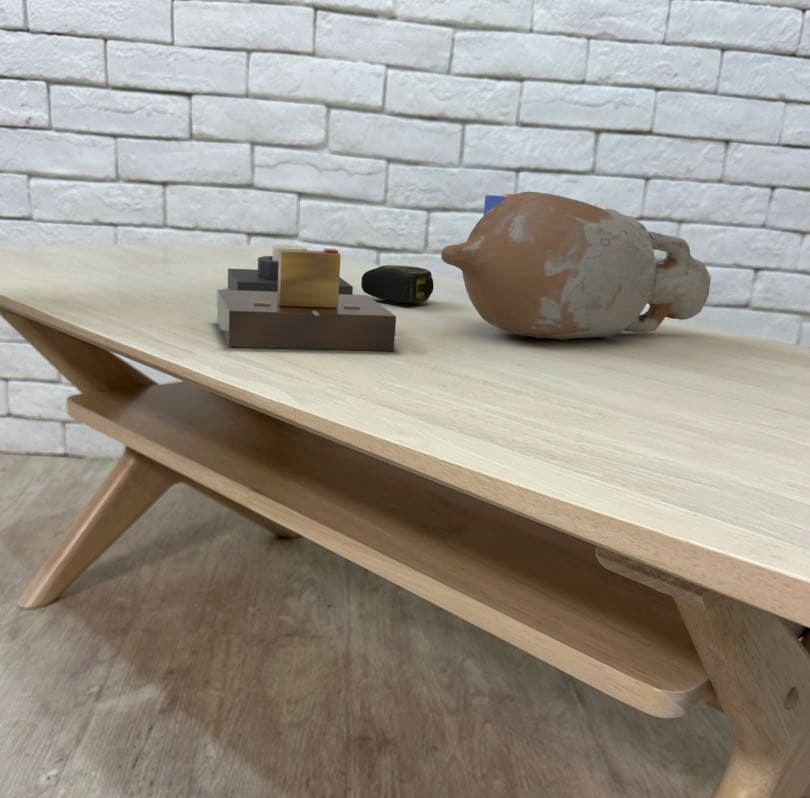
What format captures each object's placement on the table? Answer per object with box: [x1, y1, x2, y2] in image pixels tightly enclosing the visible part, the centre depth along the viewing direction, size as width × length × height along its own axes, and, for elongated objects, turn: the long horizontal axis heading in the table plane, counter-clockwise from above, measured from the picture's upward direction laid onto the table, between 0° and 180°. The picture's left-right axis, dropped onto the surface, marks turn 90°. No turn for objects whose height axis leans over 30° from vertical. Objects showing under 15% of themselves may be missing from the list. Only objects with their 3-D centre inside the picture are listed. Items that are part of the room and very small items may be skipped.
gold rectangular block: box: [277, 247, 342, 308], centre depth 84 cm, size 5×2×5 cm, turn 105°
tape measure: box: [360, 264, 434, 305], centre depth 110 cm, size 7×7×4 cm
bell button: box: [271, 244, 308, 261], centre depth 106 cm, size 4×4×2 cm
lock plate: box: [216, 289, 397, 352], centre depth 87 cm, size 14×12×3 cm
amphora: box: [440, 191, 712, 341], centre depth 96 cm, size 14×16×30 cm
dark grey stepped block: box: [227, 255, 354, 295], centre depth 107 cm, size 12×10×4 cm
